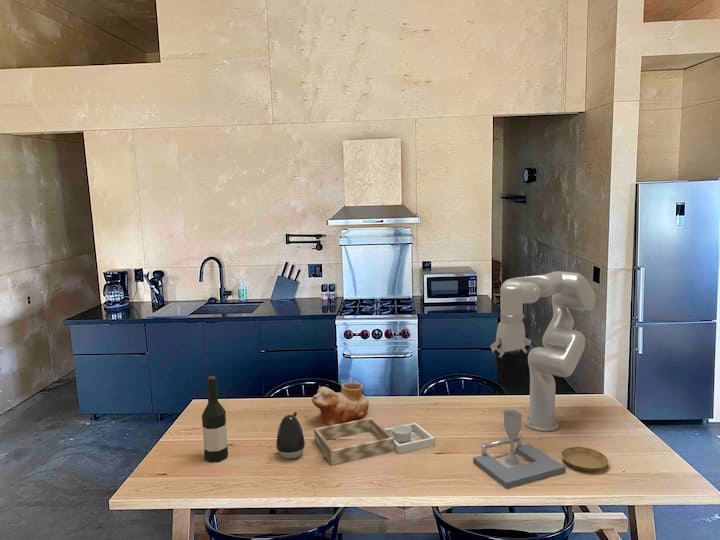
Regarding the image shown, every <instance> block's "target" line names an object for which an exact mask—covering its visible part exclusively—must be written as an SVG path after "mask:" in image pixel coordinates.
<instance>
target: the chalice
mask: <svg viewBox="0 0 720 540" xmlns="http://www.w3.org/2000/svg"><path fill="white" fill-rule="evenodd" d="M502 414H503V426H504V427H503V428H504V429H505V432H506V435H507V436H508V438H511V442H510V443H509V444H510V447H509V450H510V453H508V454H507V455H506V456H507V457H506V459H505V461H504V462H505V463H506V464H508V465H512V466H516V465H519V464H520V462H519V461H518V457H519V456H518V455H516V454H515V452H514V451H516V447H514V446H515V442H514V439H515V438H517V436H518V435H520V432H521V429H522V421H523V420H522V419H523V415H524V412H523V410H521V409H519V408H517V407H516V408H515V407H508V408H504V409H503V410H502ZM517 456H518V457H517Z"/></svg>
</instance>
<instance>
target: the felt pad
mask: <svg viewBox="0 0 720 540" xmlns="http://www.w3.org/2000/svg"><path fill="white" fill-rule="evenodd" d="M516 456H517V457H518V461H519V462H520V464H519V465H523V464H527V463H528V461H527V462H526V461H525V460H524V459H523V458H522V457H519V456H518V455H516ZM506 457H507V455H505V456H501V457H500V456H499V457H495V458H494V459H495V460H497V461H498V462H500V463H501V464H502V465H504V466H505V467H506V468H511V467H515V466H512V465H508V464H506V463H505V462H504V461H505V459H506ZM519 465H516V466H519Z"/></svg>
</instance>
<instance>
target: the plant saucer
mask: <svg viewBox="0 0 720 540" xmlns="http://www.w3.org/2000/svg"><path fill="white" fill-rule="evenodd" d="M561 457H562V459H563V460H564V462H565V463H566V464H568V466H570V467H571V468H573V469H575V470H578V471H582V472H588V473H589V472H590V473H593V472H597V471H600V470H602V469H603V468H605V467H606V466H607V465H608V464H609V459H608V457H607V456H606V455H605V454H604V453H602V452H600V451H598V450H595V449H593V448H589V447H584V446H570V447H566V448H565V449H562V451H561Z"/></svg>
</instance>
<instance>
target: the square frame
mask: <svg viewBox="0 0 720 540" xmlns="http://www.w3.org/2000/svg"><path fill="white" fill-rule="evenodd" d="M404 425H405V426H409V427H410V428H411V432H413V433H416V434H417V435H419V437H421V438H422V439H418V440H415V441H413V442H408V443H404V444H399V443H398V442H397V441H395V440H394V452H396V453H397V454H398V455H400V454H404V453H409V452H413V451H417V450H422V449H427V448H431V447H435V446H436V438H435V436H433V435H432V434H430V433H429V432H428V431H426V429H424V428H423V427H421V425H419V424H418V423H417V422H412V423H407V424H404ZM393 427H394V426H393ZM393 427H387V428H384V429H385V430H386V431H387V432H388V433H389V434H390V435H391V436H393V434H392V428H393Z"/></svg>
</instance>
